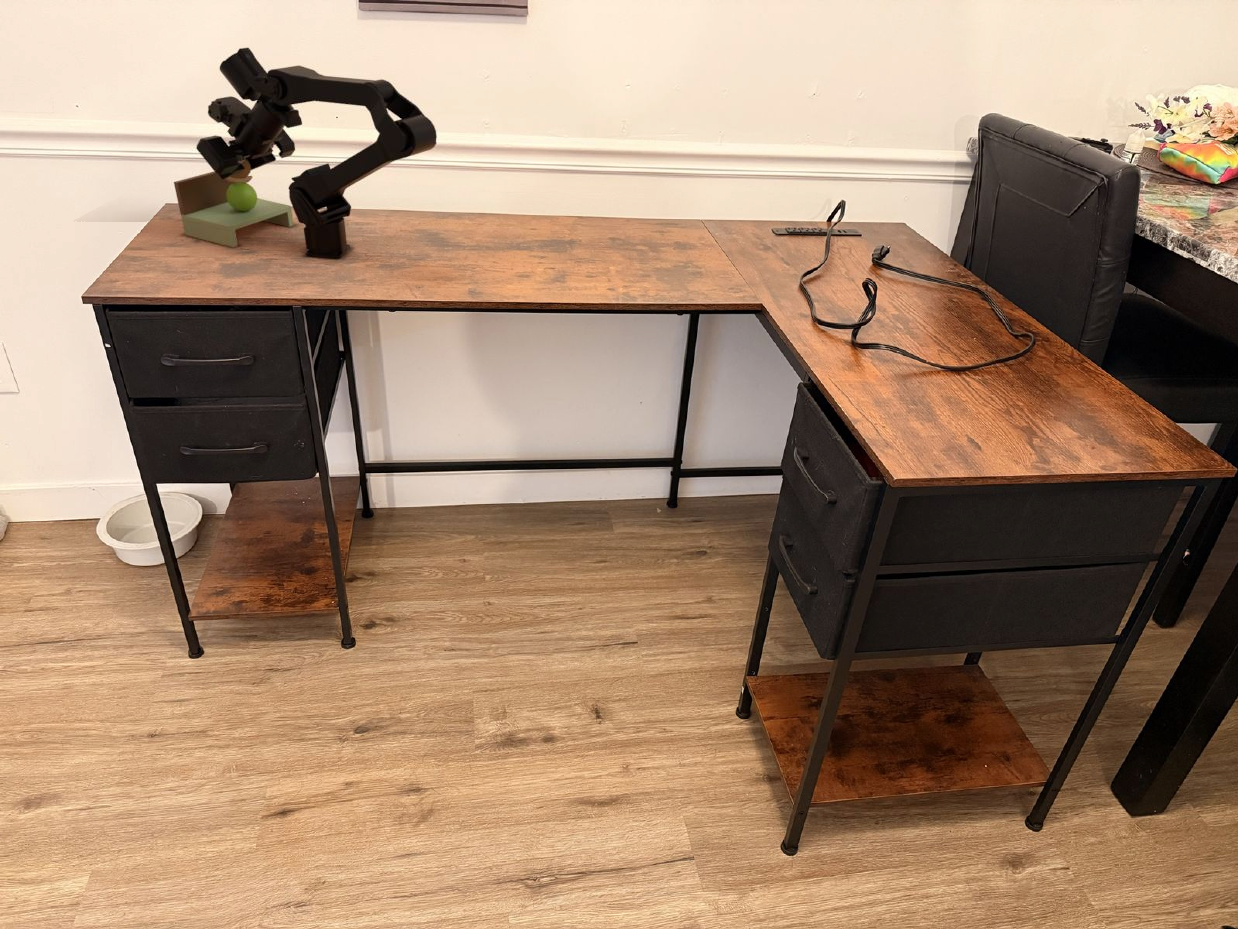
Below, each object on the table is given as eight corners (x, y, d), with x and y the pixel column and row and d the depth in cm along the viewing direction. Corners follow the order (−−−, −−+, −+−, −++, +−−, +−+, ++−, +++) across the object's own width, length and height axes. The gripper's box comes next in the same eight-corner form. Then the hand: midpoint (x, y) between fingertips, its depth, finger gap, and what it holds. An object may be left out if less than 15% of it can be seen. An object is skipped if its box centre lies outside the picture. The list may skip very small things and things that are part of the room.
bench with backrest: (293, 225, 171) (286, 174, 166) (233, 247, 159) (223, 193, 153) (247, 214, 175) (239, 164, 170) (185, 235, 163) (173, 181, 157)
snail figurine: (224, 207, 165) (211, 142, 159) (259, 206, 167) (248, 142, 161) (223, 215, 161) (209, 149, 155) (259, 214, 163) (247, 149, 157)
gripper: (273, 76, 158) (238, 130, 167) (192, 90, 143) (159, 148, 153) (312, 127, 159) (276, 177, 169) (237, 145, 145) (201, 199, 154)
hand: (229, 174), depth 161 cm, fingers closed on snail figurine, 4 cm apart
